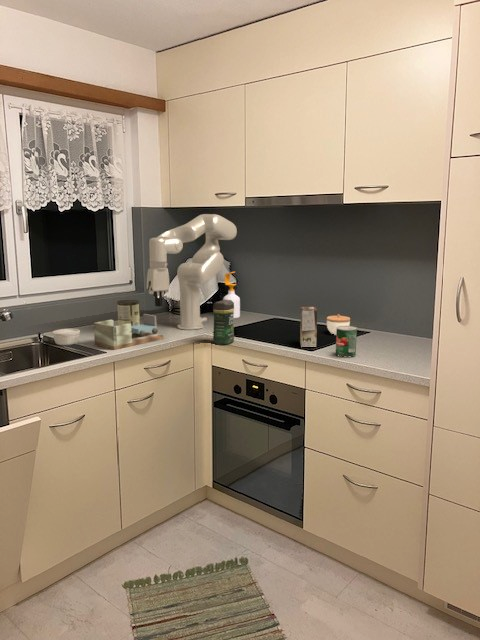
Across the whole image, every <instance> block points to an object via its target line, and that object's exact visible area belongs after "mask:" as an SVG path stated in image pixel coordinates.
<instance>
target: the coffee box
mask: <svg viewBox="0 0 480 640" xmlns="http://www.w3.org/2000/svg"><path fill="white" fill-rule="evenodd" d="M317 327H318V309H317V308H316V306H313V305H312V306H300V329H299V330H300V333H299V335H300V338H299V344H300V347H301V348H302V347H316V348H317V333H318V330H317V329H318V328H317Z"/></svg>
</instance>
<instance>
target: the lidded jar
mask: <svg viewBox="0 0 480 640" xmlns="http://www.w3.org/2000/svg"><path fill="white" fill-rule="evenodd" d="M350 324H351V317H349V316H346V315H345V316H344V315H340V313H337V315H329V316H327V317H326V328H327V330H328V331H329V333H330V334H331V335H332V334H334V335H333V336H336V332H337V327H338V326H351V325H350Z"/></svg>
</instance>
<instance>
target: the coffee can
mask: <svg viewBox="0 0 480 640" xmlns="http://www.w3.org/2000/svg"><path fill="white" fill-rule="evenodd" d="M116 305H117V322H118V323H117V324H118V325H123V324H131V326H135V325H140V324H141V321H140V320H141V319H140V300H137V299H124V300H123V299H122V300H118V301H117V302H116ZM118 325H117V326H118Z"/></svg>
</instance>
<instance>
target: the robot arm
mask: <svg viewBox="0 0 480 640" xmlns="http://www.w3.org/2000/svg"><path fill="white" fill-rule="evenodd" d="M237 233H238V231H237V226H236V225H235V223H233V222H232V221H230V220H228V219H227V218H225V217H223V216H221V215H219V214H216V213H213V214H212V213H211V214H210V213H203V214H199V215H198V216H196V217H195V218H193V219H191V220H190V221H188V222H187V223H185V224H182V225H180V226H177V227H175V228H172V229H168V230H167V231H164V232H162V233H161V234H160V235H157V236H156V237H151V238H150V239H149V243H148V244H149V246H148V248H149V268H148V269H147V274H146V290H147V291H148V294H149V295H153V298H154V305H155V307H158V308H160V307H163V298H164V297H165V296H164V295H166V294H167V293H169V289H170V275H169V273H170V272H169V269H168V267H167V266H168V265H169V263H168V260H167V259H168V258H167V254H170V255H171V254H172V255H173V254H174V255H176V254H179V253H181V251H182V250H183V247H184V246H183V245H184V243H189V242H190V243H191V242H194V241H195V240H196V239H198V238H200V237H201V236H202V235H204V234H205V243H204V244H203V245H202V246H201V247H200V248H199V250H197V251H196V253H194V255H193V256H192V259H191V262H183V263H181V264H180V265H179V266H178V267H177V271H176V272H177V275H176V276H177V279H178V284H179V285H178V286H179V304H180V305H179V309H180V310H179V311H180V314H179V315H180V323H179V324H177V328H178V329H179V330H185V331H186V330H187V331H190V330H199V329H202V328H204V323H203V322H207V321H208V317H206V316H205V317H204V316H203V317H201V308H200V305H201V302H200V301H201V299H200V298H201V296H200V295H201V294H200V293H201V292H200V289H199V286H198V284H201V285H203V284H205V285H206V284H208V283H209V282H210V281H211V280H213V278H214V277H215V276H216V275H217V274H218V273H219V272H220V271H221V269H222V268H223V265H224V261H225V260H224V255H223V254H222V253H221V252H220V250H221V248H220V245H219V244H220V243H219V241H220V240H223V241H231V240H234V239H235V238H236V237H237Z"/></svg>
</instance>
